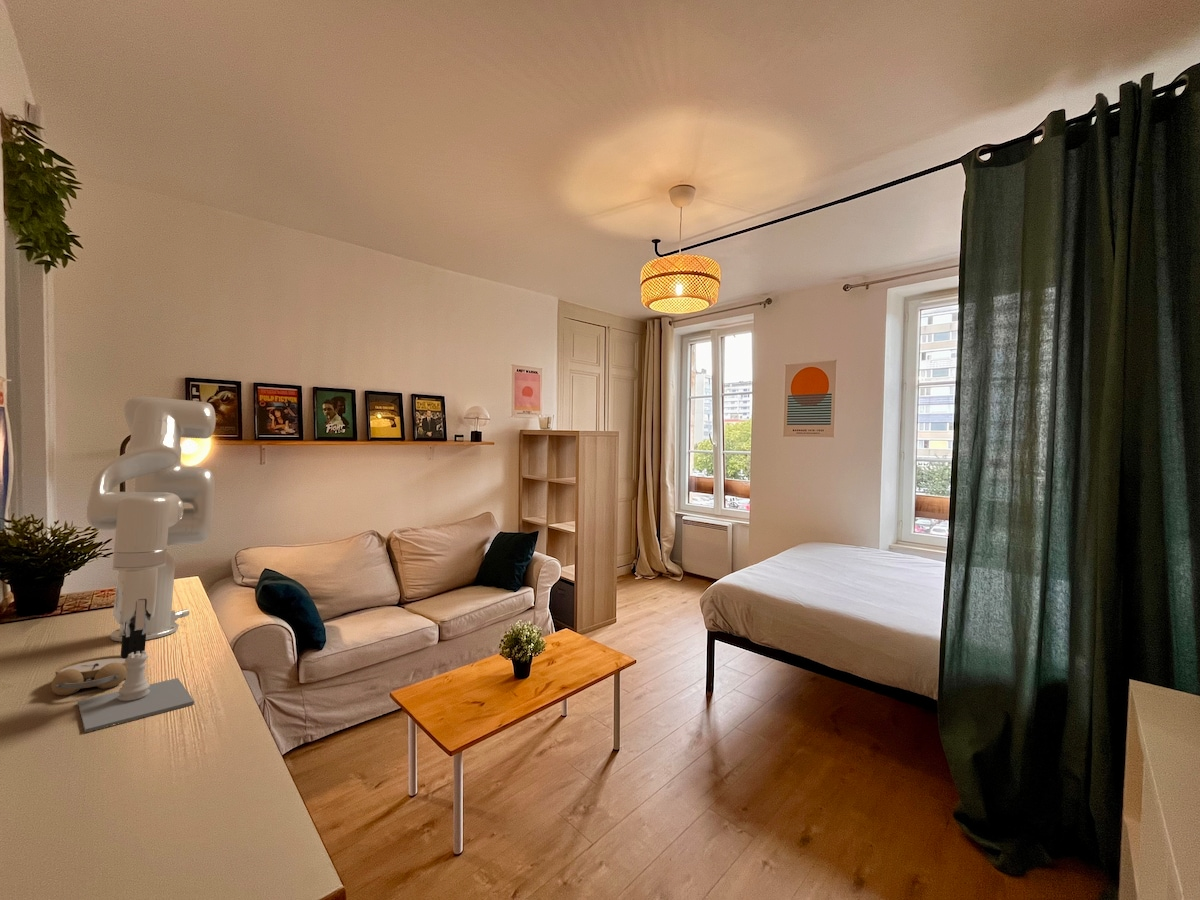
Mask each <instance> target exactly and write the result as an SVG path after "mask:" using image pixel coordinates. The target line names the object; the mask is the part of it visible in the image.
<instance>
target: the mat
mask: <svg viewBox="0 0 1200 900" xmlns="http://www.w3.org/2000/svg"><path fill="white" fill-rule="evenodd" d="M149 684H150V688H149V690H150V692H149V693H148V695H147V696H145V697H143V698H141V699H138V700H134V701H127V702H124V701H120V700H119V699H118V696H119V695H120V694H119V693H118V692H119V691H116V692H111V693H106V694H102V695H97V696H93V697H88V698H84V699H80V700H77V707H78V706H79V708H78V711H79V710H80V712H79V715H80V714H81V716H80V719H82V720H81V723H82V722H83V723H82V726H83V727H82V728H83V731H84V733H85V734H87V733H90V732H94V731H93V730H95V731H99V730H102V729H101V728H103V729H105V728H104V727H106V728H108V727H107V726H110V727H112V726H111V725H113V724H118V723H122V722H125V723H128V722H127V721H129V722H132V721H131V720H133V721H135V720H136V719H137V720H140V719H144V718H148V717H151V716H155V715H158V714H162V713H166V712H170V711H174V710H178V709H183V708H186V707H189V706H192V705H193V706H194V705H195V700H194V699H193V697H192V696H191V694H190V693H189V691H188V690H187V689H186V687H185V686H184V684H183V683H182V682H181V681H180V678H178V677H176V678H172V679H167V680H163V681H158V682H153V683H149ZM143 717H144V718H143ZM122 724H123V723H122ZM118 725H119V724H118ZM98 729H99V730H98ZM86 732H87V733H86Z"/></svg>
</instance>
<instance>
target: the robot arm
mask: <svg viewBox="0 0 1200 900" xmlns="http://www.w3.org/2000/svg"><path fill="white" fill-rule="evenodd" d="M123 413H124V417H125V421H126V425H127V427H128V429H129V431H130V433H131V434H130V439H129V444H128V450H127V452H125V453H123V454H122V455H120V456H118V457H116V458H114V459H113V460H111V461H110V462H108V463H107V464H106V465H105V466H103V467H102V469H101V470H100V471H99V472H97V474H96V475H95V477H94V479H93V481H92V485H91V488H90V493H89V497H88V500H87V501H88V503H87V506H86V520H87V523H88V525H90V526H91V527H92V528H94V529H97V530H101V531H102V530H103V531H104V530H106V531H107V530H109V531H110V530H111V531H112V530H115V534H114V544H113V559H112V570H113V571H118V573H117V579H116V585H115V586H116V587H115V596H114V602H113V603H114V604H113V611H112V615H113V618H114V620H115V621H116V623H118V625H119V628H118V629H115V630H113V631H112V632H111V633H110V639H111V640H112V641H114V642H121V647H120V655H121V657H122V658H123V659H125V658H127V657H128V654H130V653H132V652H134V654H136V651H140V653H142V651H145V652H146V641H148V640H154V639H157V638H162V637H165V636H169V635H171V634H173V633H175V632H176V631H177V630H178V628H179V624H178V623H177V622H176V621H178V619H181V618H185V617H188V616H189V615H190V610H189V609H187V608H186V609H182V610H179V611H176V610H172V609H173V599H174V598H173V594H174V586H175V585H174V582H175V570H176V562H175V559H174V558H173V556H172V555H171V553H169V552H168V551H167V548H168V547H169V546H179V545H180V546H181V545H186V546H187V545H198V544H203V543H206V542H207V541H208V540H210V538H211V536H212V533H213V527H214V526H213V523H214V511H215V510H214V508H215V493H216V492H215V491H216V490H215V488H216V487H215V486H216V485H215V484H216V483H215V476H214V474H213V472H212V471H211V470H210V469H209V468H205V467H201V466H200V467H198V466H197V467H195V466H194V467H193V466H182V465H181V458H182V446H181V439H182V438H188V439H190V438H191V439H208V438H211V436H212V435H213V433H215V430H216V423H217V419H216V417H217V416H216V411H215V408H214V406H213V404H212V403H210V402H205V401H196V400H189V399H188V400H186V399H176V398H170V397H169V398H166V397H158V396H157V397H155V396H136V397H131V398H129V399H127V400H126V402H125V403H124V409H123ZM132 479H134V491H112V490H113V489H114V488H115V487H117V486H119V485H120V484H122V483H124V482H126V481H129V480H132ZM184 504H190V505H191V506H192V507H191V508H190V507H189V508H188V507H184Z"/></svg>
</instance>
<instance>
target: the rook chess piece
mask: <svg viewBox="0 0 1200 900" xmlns="http://www.w3.org/2000/svg"><path fill="white" fill-rule="evenodd" d="M149 657H150V655H148V654H147V651H146V650H145V651H142V653H140V651H136V654H134V652H132V653H130V654H128V657H127V658H126V659H125V662H126V663H128V666H127V667H126V669H127V675H126V678H124V680H125V681H124V683H123V684H122V685H121V687H120V688H119V690H118V691H117V692H118V693H119V694H120V695H119V696H118V699H119V700H120V701H124V702H127V701H134V700H138V699H141V698H143V697H145V696H147V695H148V693H149V692H150V690H149V688H150V684H151V683H149V682H148V680H147V679H146V672H145V669H146V667H147V664H146V661H147V659H148V658H149Z"/></svg>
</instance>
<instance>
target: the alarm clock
mask: <svg viewBox="0 0 1200 900" xmlns="http://www.w3.org/2000/svg"><path fill="white" fill-rule="evenodd" d="M125 659H126V658H125ZM125 659H123V658H122V657H121V654H117V655H115V654H113V655H105V656H98V657H91V658H87V659H82V660H78V661H73V662H69V663H67V664H64V665H61V666H59V667H58V668H56V669H55V672H54V673H55V676H54V678H53V679H52V680H51V681H52V682H51V690H52V692H53V694H56V695H58V696H63V695H64V696H71V695H73V694H75V693H77V692H79V690H81V689H88V688H93V687H94V688H95V687H98V688H99V689H104V690H105V689H111V688H115V687H117V686H119V685H120V684H121V683H122V682H123V681H124V680H125V679H126V675H127V669H126V667H127V666H128V663H126V662H125Z"/></svg>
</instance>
